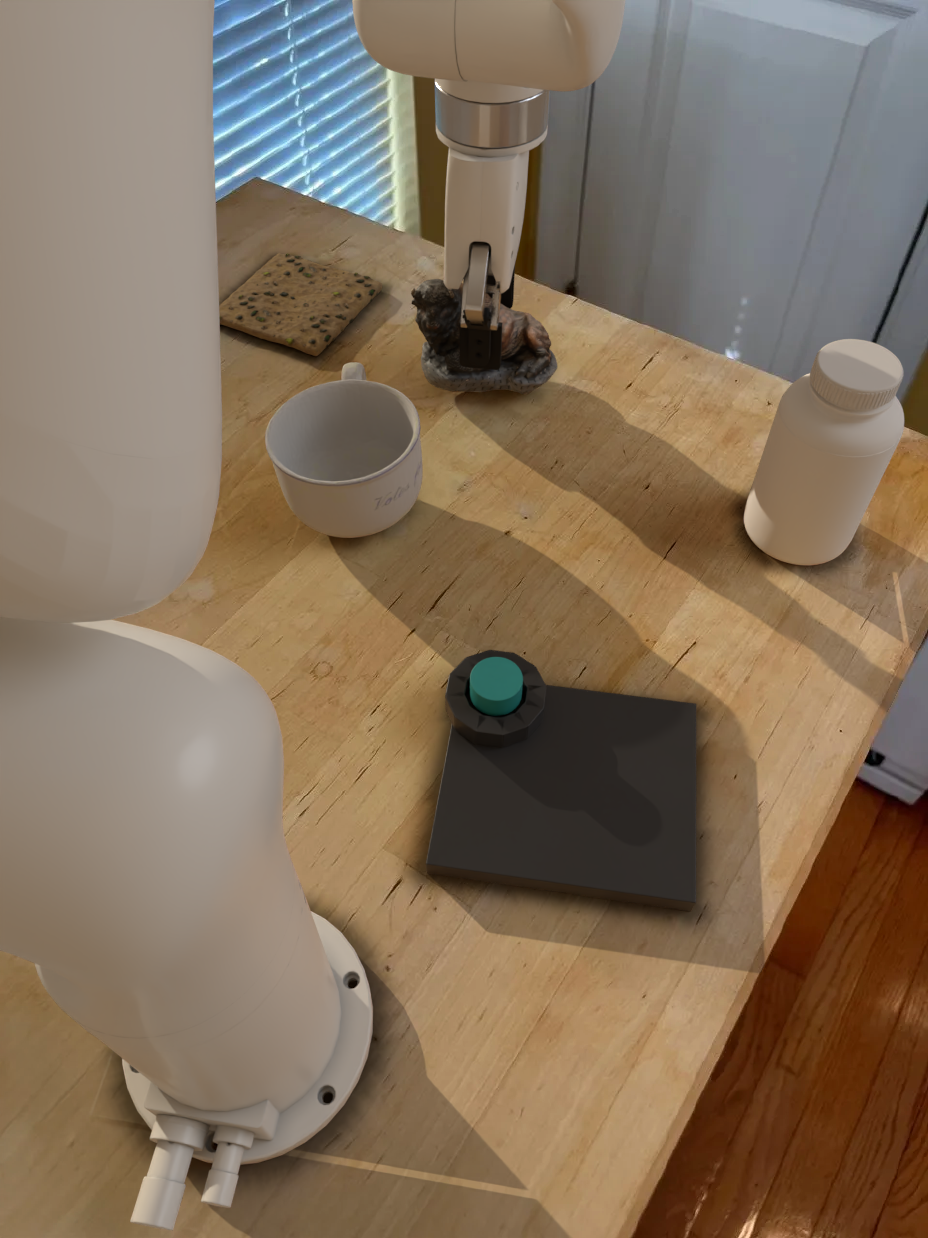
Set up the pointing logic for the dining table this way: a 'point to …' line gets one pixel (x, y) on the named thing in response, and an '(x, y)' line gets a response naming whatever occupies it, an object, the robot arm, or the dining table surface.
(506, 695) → the button
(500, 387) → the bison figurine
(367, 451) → the teacup
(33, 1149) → the dining table surface
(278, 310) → the cookie
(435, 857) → the scale
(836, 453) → the pill bottle
